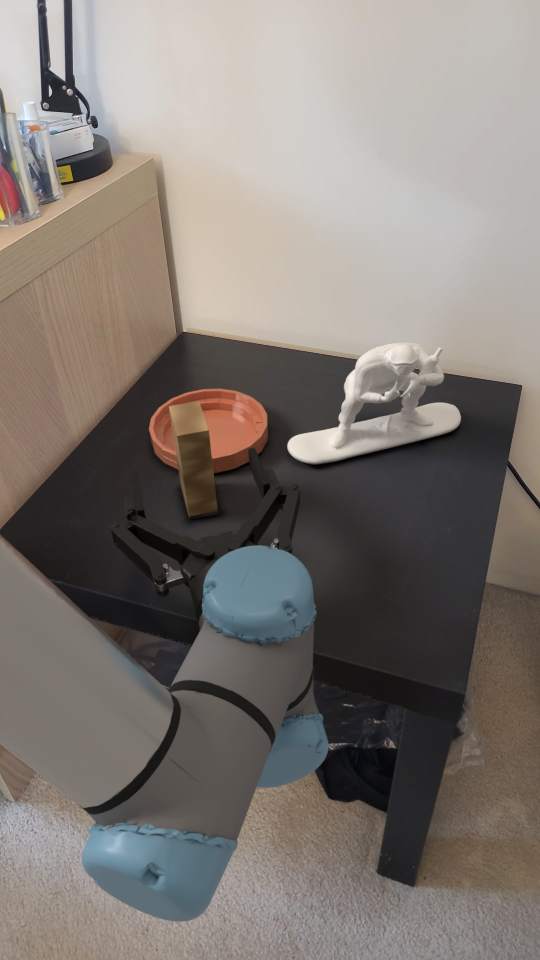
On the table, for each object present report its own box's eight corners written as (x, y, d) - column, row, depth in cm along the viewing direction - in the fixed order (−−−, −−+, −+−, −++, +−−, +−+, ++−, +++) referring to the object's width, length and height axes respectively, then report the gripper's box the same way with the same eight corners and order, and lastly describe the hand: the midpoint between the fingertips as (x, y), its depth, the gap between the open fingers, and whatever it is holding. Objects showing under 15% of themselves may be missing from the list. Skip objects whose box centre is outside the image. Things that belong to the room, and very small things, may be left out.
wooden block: (189, 520, 84) (176, 435, 75) (181, 489, 88) (168, 406, 80) (218, 514, 85) (208, 429, 76) (208, 483, 89) (199, 400, 80)
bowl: (145, 477, 90) (142, 460, 88) (159, 407, 102) (157, 390, 100) (268, 474, 90) (267, 456, 88) (267, 404, 102) (267, 387, 100)
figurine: (308, 492, 87) (309, 380, 76) (274, 435, 96) (271, 327, 85) (483, 447, 93) (508, 336, 82) (436, 397, 102) (452, 292, 91)
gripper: (108, 669, 63) (90, 515, 78) (363, 606, 67) (298, 472, 83) (91, 618, 58) (76, 465, 73) (368, 553, 62) (298, 422, 78)
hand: (194, 468), depth 78 cm, fingers open, 13 cm apart
